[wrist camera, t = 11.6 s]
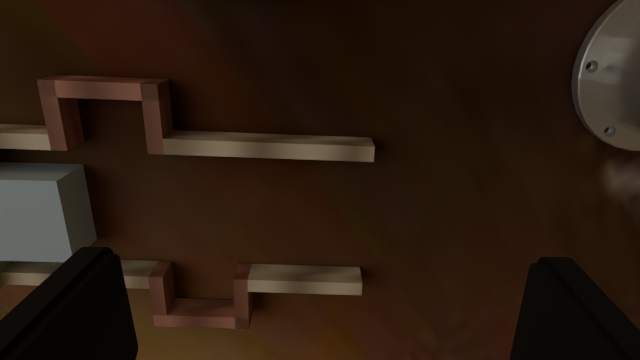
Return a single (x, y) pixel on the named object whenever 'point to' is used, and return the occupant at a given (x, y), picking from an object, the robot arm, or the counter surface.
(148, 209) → the counter surface
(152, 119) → the trap channel
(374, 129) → the counter surface
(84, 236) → the gray block
